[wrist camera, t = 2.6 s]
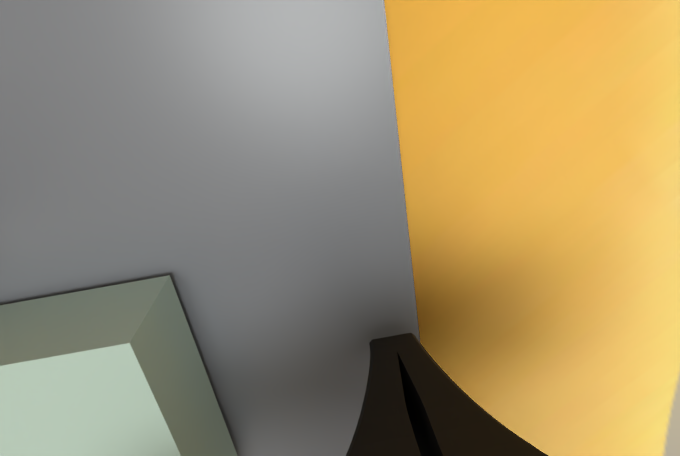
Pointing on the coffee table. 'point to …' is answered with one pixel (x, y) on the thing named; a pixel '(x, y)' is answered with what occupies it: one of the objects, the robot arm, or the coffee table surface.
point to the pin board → (217, 189)
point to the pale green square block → (106, 377)
